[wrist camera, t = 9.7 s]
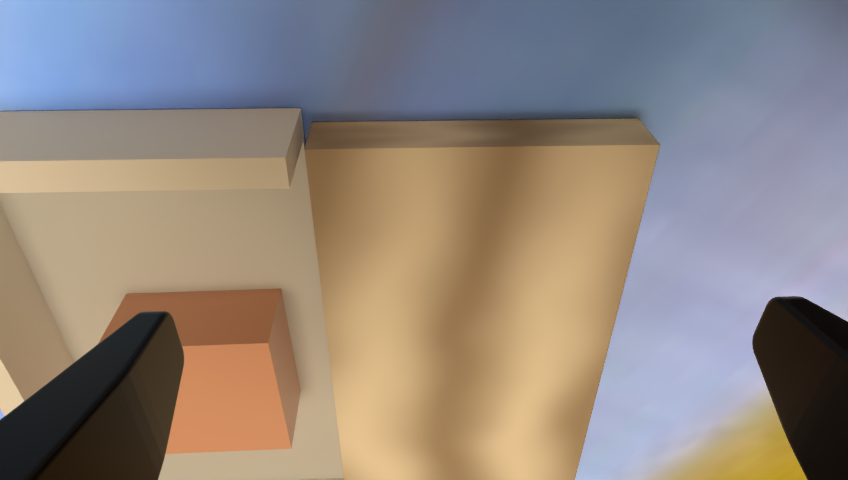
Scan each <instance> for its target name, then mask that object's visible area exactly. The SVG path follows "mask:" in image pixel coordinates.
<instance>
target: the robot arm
mask: <svg viewBox="0 0 848 480" xmlns="http://www.w3.org/2000/svg"><path fill="white" fill-rule="evenodd" d="M753 350H754V354H755V356H756V359H757V362H758V364H759V367H760V369H761V372H762V375H763V377H764V380H765V382H766V385H767V388H768V390H769V393H770V396H771V398H772V401H773V403H774V406H775V409H776V411H777V414H778V417H779V419H780V422H781V424H782V427H783V429H784V432H785V434H786V436H787V439H788V441H789V443H790V445H791V447H792V450H793V452H794V454H795V456H796V458H797V460H798V462H799V464H800V466H801V468H802V470H803V472H804V474H805V476H806V478H807V479H808V480H848V322H847V321H845V320H843V319H842V318H840V317H838V316H836V315H834V314H833V313H831V312H829V311H827V310H825V309H823V308H822V307H820V306H818V305H816V304H814V303H812V302H811V301H809V300H807V299H805V298H803V297H797V296H791V297H775V298H772V299H771V300H770V301H769V302H768V304H767V306H766V308H765V310H764V312H763V315H762V317H761V319H760V321H759V324H758V326H757V328H756V330H755V333H754V335H753ZM183 367H184V351H183V347H182V344H181V341H180V338H179V335H178V332H177V328H176V325H175V322H174V319H173V317H172V315H171V314H170V313H169V312H167V311H144V312H140V313H138V314H136V315H135V316H134V317H132V318H131V319H130V320H128V321H127V322H126V323H124V324H123V325H122V326H121V327H119V328H118V329H117V330H115V331H114V332H113V333H112V334H110V335H109V336H108V337H106V338H105V339H104V340H103V341H101V342H100V343H99V344H97V345H96V346H95V347H94V348H92V349H91V350H90V351H88V352H87V353H86V354H84V355H83V356H82V357H81V358H79V359H78V360H77V361H75V362H74V363H73V364H72V365H70V366H69V367H68V368H66V369H65V370H64V371H63V372H61V373H60V374H59V375H57V376H56V377H55V378H53V379H52V380H51V381H50V382H48V383H47V384H46V385H44V386H43V387H42V388H41V389H39V390H38V391H37V392H35V393H34V394H33V395H32V396H30V397H29V398H28V399H26V400H25V401H24V402H23V403H21V404H20V405H19V406H17V407H16V408H15V409H13V410H12V411H11V412H10V413H8V414H7V415H6V416H4V417H3V418H2V419H1V420H0V480H158V478H159V475H160V472H161V469H162V465H163V462H164V458H165V454H166V449H167V445H168V440H169V435H170V430H171V426H172V421H173V416H174V411H175V406H176V401H177V396H178V392H179V387H180V382H181V377H182V372H183Z"/></svg>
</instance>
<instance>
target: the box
mask: <svg viewBox="0 0 848 480" xmlns="http://www.w3.org/2000/svg"><path fill="white" fill-rule="evenodd" d="M304 149H305V138H304V129H303V121H302V112H301V108H263V109H169V110H76V111H0V409H1V411H2V412H3V414H4V415H5V416H6V415H7V414H8V413H10V412H11V411H12V410H13V409H15V408H16V407H17V406H19V405H20V404H21V403H23V402H24V401H25V400H26V399H28V398H29V397H30V396H32V395H33V394H34V393H35V392H37V391H38V390H39V389H41V388H42V387H43V386H44V385H46V384H47V383H48V382H50V381H51V380H52V379H53V378H55V377H56V376H57V375H59V374H60V373H61V372H63V371H64V370H65V369H66V368H68V367H69V366H70V365H72V364H73V363H74V362H75V361H77V360H78V359H79V358H81V357H82V356H83V355H84V354H86V353H87V352H88V351H90V350H91V349H92V348H94V347H95V346H96V345H97V344H98V343H99V341H100V339H101V337H102V336H103V334H104V332H105V330H106V329H107V327H108V325H109V323H110V322H111V320H112V318H113V316H114V314H115V313H116V311H117V309H118V307H119V306H120V304H121V302H122V300H123V298H124V297H125V295H126V294H131V293H161V292H190V291H220V290H250V289H280V288H281V289H282V295H283V300H284V305H285V311H286V316H287V321H288V326H289V332H290V337H291V342H292V348H293V353H294V358H295V363H296V369H297V374H298V379H299V385H300V390H301V393H300V399H299V406H298V412H297V418H296V424H295V430H294V436H293V443H292V449H274V450H250V451H225V452H201V453H177V454H165V458H164V462H163V465H162V469H161V472H160V475H159V478H158V480H344V475H343V467H342V458H341V450H340V441H339V433H338V425H337V416H336V408H335V400H334V391H333V383H332V375H331V366H330V358H329V350H328V341H327V333H326V325H325V316H324V308H323V300H322V291H321V283H320V275H319V266H318V258H317V250H316V241H315V233H314V225H313V216H312V208H311V200H310V191H309V183H308V175H307V166H306V158H305V150H304Z"/></svg>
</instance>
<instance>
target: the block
mask: <svg viewBox="0 0 848 480" xmlns="http://www.w3.org/2000/svg"><path fill="white" fill-rule="evenodd" d="M144 311H167V312H169V313H170V314H171V315H172V317H173V319H174V322H175V325H176V328H177V332H178V335H179V338H180V341H181V344H182V347H183V351H184V367H183V372H182V377H181V382H180V387H179V392H178V396H177V401H176V406H175V411H174V416H173V421H172V426H171V430H170V435H169V440H168V445H167V449H166V454H177V453H201V452H225V451H250V450H274V449H292V443H293V436H294V430H295V424H296V418H297V412H298V406H299V399H300V393H301V390H300V385H299V379H298V374H297V369H296V363H295V358H294V353H293V348H292V342H291V337H290V332H289V326H288V321H287V316H286V311H285V305H284V300H283V295H282V289H281V288H280V289H250V290H220V291H190V292H161V293H131V294H126V295H125V297H124V298H123V300H122V302H121V304H120V306H119V307H118V309H117V311H116V313H115V314H114V316H113V318H112V320H111V322H110V323H109V325H108V327H107V329H106V330H105V332H104V334H103V336H102V337H101V339H100V341H99V343H100V342H101V341H103V340H104V339H105V338H106V337H108V336H109V335H110V334H112V333H113V332H114V331H115V330H117V329H118V328H119V327H121V326H122V325H123V324H124V323H126V322H127V321H128V320H130V319H131V318H132V317H134V316H135V315H136V314H138V313H140V312H144ZM99 343H98V344H99Z"/></svg>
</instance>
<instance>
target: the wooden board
mask: <svg viewBox="0 0 848 480" xmlns="http://www.w3.org/2000/svg"><path fill="white" fill-rule="evenodd" d="M659 147H660V144H659V143H658V141H657V140H656V139H655V138H654V137H653V135H652V134H651V133H650V132H649V130H648V129H647V128H646V127H645V126H644V124H643V123H642V122H641V121H640V120H639V118H635V119H549V120H462V121H376V122H312V123H311V127H310V131H309V134H308V138H307V142H306V146H305V149H304V150H305V158H306V166H307V175H308V183H309V191H310V200H311V208H312V216H313V225H314V233H315V241H316V250H317V258H318V266H319V275H320V283H321V291H322V300H323V308H324V316H325V325H326V333H327V341H328V350H329V358H330V366H331V375H332V383H333V391H334V400H335V408H336V416H337V425H338V433H339V441H340V450H341V458H342V467H343V475H344V480H575V476H576V472H577V468H578V465H579V461H580V457H581V453H582V449H583V445H584V441H585V437H586V433H587V429H588V425H589V421H590V418H591V414H592V410H593V406H594V402H595V398H596V394H597V390H598V386H599V382H600V378H601V374H602V370H603V367H604V363H605V359H606V355H607V351H608V347H609V343H610V339H611V335H612V331H613V327H614V323H615V320H616V316H617V312H618V308H619V304H620V300H621V296H622V292H623V288H624V284H625V280H626V276H627V273H628V269H629V265H630V261H631V257H632V253H633V249H634V245H635V241H636V237H637V233H638V229H639V225H640V222H641V218H642V214H643V210H644V206H645V202H646V198H647V194H648V190H649V186H650V182H651V178H652V175H653V171H654V167H655V163H656V159H657V155H658V151H659Z"/></svg>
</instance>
